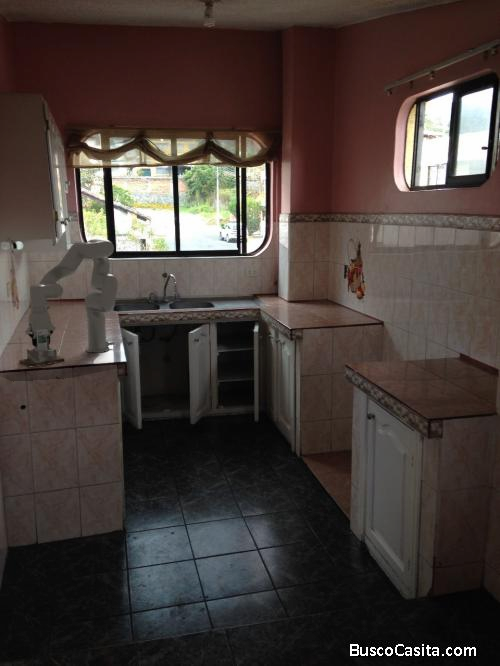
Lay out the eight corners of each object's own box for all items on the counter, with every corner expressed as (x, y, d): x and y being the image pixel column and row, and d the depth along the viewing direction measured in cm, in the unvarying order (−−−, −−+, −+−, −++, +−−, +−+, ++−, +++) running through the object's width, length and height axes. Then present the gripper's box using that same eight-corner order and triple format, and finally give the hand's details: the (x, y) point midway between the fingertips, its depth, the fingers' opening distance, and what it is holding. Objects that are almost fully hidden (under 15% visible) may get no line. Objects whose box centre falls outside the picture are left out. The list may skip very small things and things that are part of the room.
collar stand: (53, 357, 310) (52, 344, 309) (64, 361, 302) (63, 348, 301) (19, 362, 298) (18, 350, 296) (30, 367, 290) (29, 354, 288)
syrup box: (38, 358, 295) (36, 329, 292) (34, 356, 300) (32, 327, 297) (49, 357, 299) (48, 328, 296) (46, 354, 303) (44, 326, 300)
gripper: (52, 306, 303) (54, 341, 307) (18, 310, 291) (21, 346, 295) (59, 308, 298) (61, 343, 302) (25, 312, 286) (28, 349, 290)
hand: (41, 344), depth 298 cm, fingers closed on syrup box, 6 cm apart
